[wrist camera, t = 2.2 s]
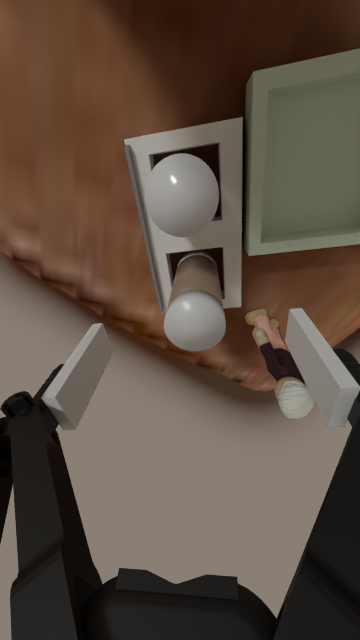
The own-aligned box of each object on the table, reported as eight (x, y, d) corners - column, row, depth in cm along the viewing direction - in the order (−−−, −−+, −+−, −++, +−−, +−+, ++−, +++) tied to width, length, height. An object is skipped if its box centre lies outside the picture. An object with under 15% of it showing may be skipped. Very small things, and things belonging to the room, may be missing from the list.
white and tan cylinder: (174, 252, 25) (158, 303, 15) (216, 247, 24) (225, 297, 15) (180, 289, 27) (169, 352, 18) (218, 286, 26) (226, 349, 17)
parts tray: (245, 85, 17) (253, 71, 15) (429, 46, 15) (473, 23, 13) (243, 246, 24) (248, 256, 21) (372, 231, 22) (394, 240, 19)
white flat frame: (130, 141, 20) (121, 138, 17) (238, 121, 18) (243, 115, 16) (163, 304, 28) (160, 316, 26) (238, 298, 27) (241, 309, 25)
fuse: (160, 162, 20) (137, 160, 13) (211, 154, 20) (217, 146, 12) (169, 216, 23) (153, 241, 15) (214, 210, 22) (220, 232, 15)
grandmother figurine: (230, 319, 29) (247, 408, 18) (252, 297, 27) (284, 382, 16) (275, 348, 31) (314, 443, 20) (298, 329, 29) (354, 423, 18)
